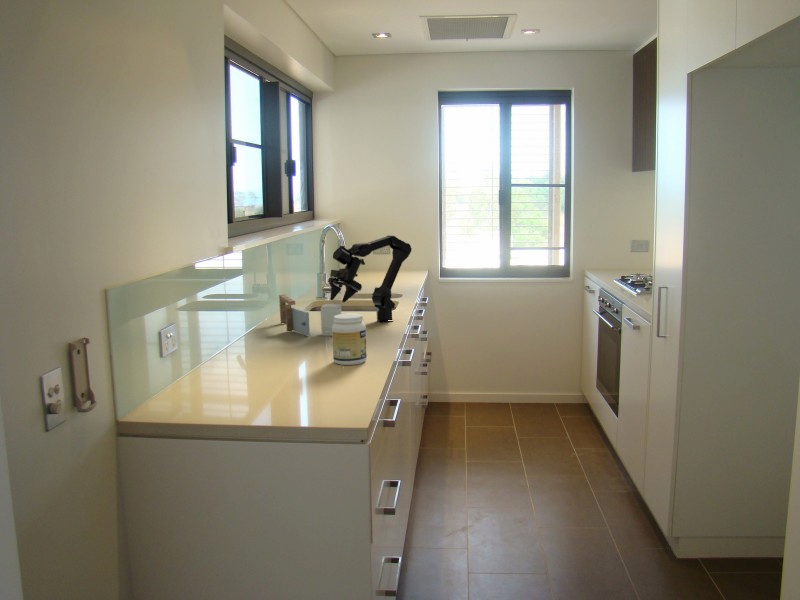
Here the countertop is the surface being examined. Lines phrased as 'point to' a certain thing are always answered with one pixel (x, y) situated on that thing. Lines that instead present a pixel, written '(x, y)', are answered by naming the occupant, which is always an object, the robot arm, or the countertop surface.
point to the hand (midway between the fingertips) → (337, 301)
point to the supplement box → (329, 317)
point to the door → (300, 321)
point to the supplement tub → (349, 339)
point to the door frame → (286, 311)
